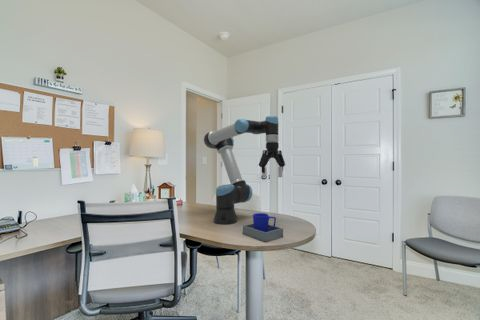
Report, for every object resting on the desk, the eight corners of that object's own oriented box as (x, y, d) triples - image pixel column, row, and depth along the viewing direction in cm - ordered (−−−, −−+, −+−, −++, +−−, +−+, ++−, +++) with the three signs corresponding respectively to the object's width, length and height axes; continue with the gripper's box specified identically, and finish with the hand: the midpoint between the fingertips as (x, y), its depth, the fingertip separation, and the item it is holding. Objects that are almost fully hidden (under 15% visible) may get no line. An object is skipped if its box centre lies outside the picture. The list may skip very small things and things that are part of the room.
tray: (242, 234, 132) (242, 225, 132) (259, 229, 139) (259, 221, 139) (265, 242, 118) (265, 233, 118) (283, 236, 126) (283, 228, 126)
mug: (274, 237, 123) (274, 217, 123) (251, 235, 127) (251, 216, 127) (277, 232, 131) (276, 213, 131) (255, 230, 135) (254, 212, 135)
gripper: (261, 141, 136) (261, 179, 136) (290, 142, 151) (291, 177, 151) (252, 141, 142) (252, 178, 142) (281, 143, 157) (281, 176, 157)
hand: (272, 177), depth 147 cm, fingers open, 13 cm apart
